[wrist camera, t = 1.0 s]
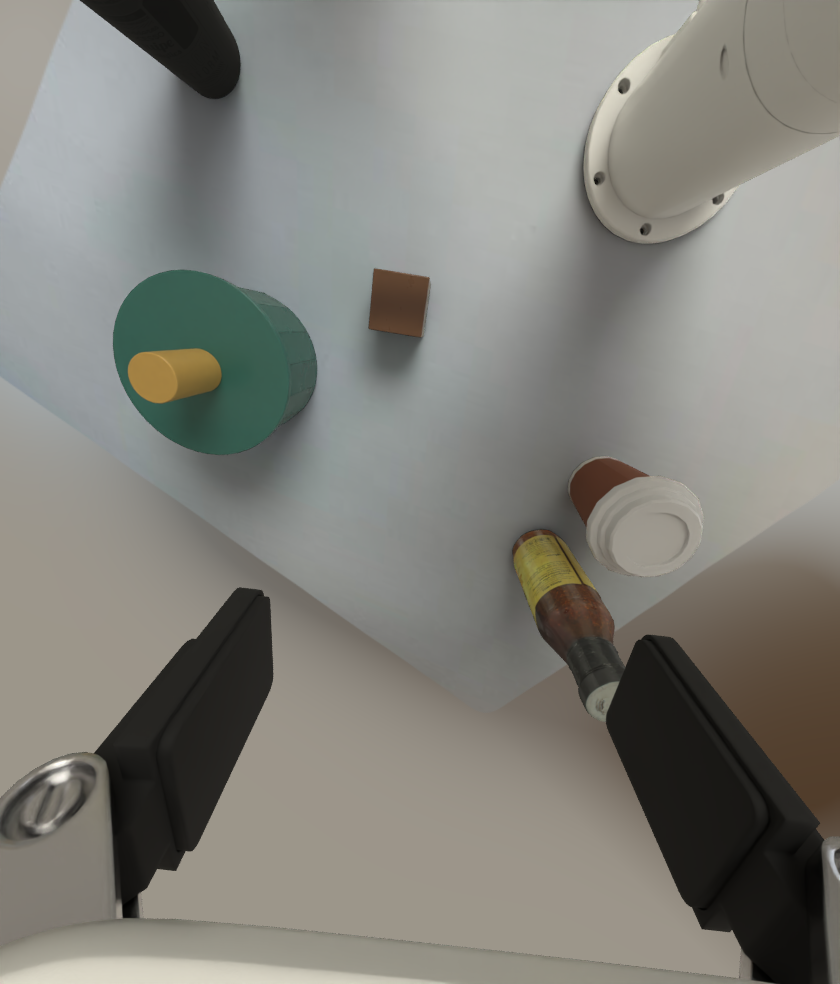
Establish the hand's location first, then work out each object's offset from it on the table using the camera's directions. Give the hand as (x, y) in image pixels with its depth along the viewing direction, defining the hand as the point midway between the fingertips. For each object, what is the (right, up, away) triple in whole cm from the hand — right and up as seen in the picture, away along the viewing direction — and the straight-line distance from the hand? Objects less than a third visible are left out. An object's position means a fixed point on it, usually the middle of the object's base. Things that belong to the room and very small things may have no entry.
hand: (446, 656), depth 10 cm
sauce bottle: (+13, -3, +35) cm, 37 cm away
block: (-2, +21, +26) cm, 33 cm away
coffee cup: (+18, +5, +32) cm, 37 cm away
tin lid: (-17, +14, +20) cm, 30 cm away
